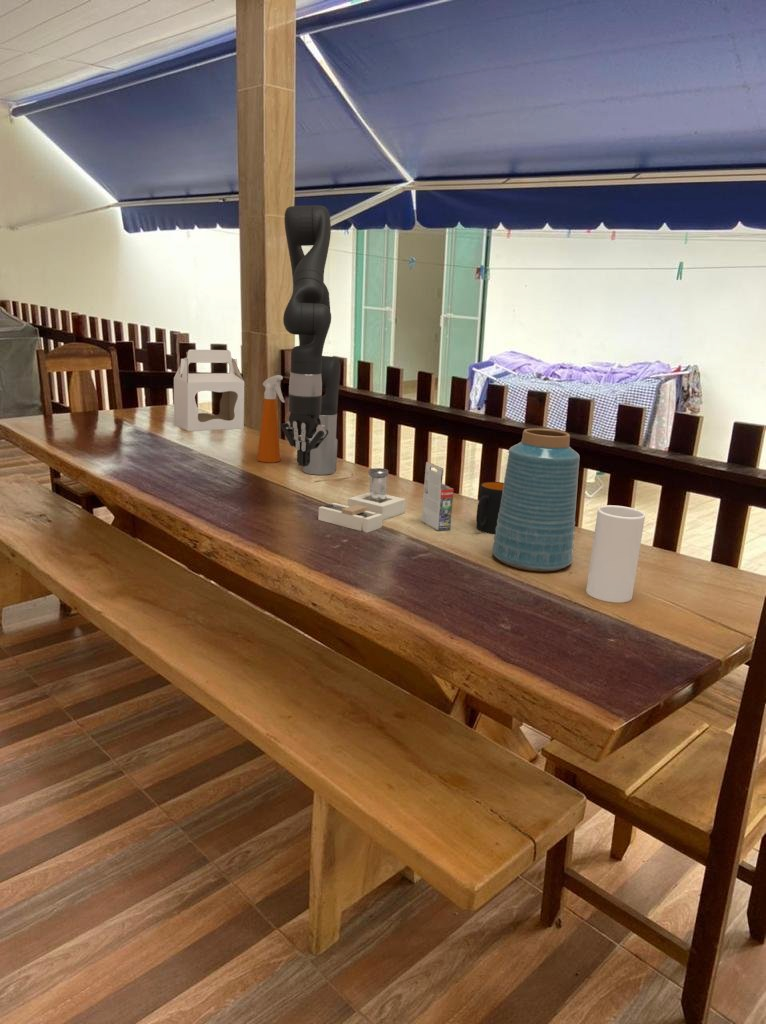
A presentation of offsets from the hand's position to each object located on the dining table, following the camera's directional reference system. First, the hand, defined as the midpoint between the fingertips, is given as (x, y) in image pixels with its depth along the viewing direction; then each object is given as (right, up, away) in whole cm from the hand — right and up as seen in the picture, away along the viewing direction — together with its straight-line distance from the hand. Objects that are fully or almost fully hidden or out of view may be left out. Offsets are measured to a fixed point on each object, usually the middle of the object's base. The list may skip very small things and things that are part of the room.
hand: (303, 465), depth 184 cm
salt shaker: (+18, -11, +3) cm, 21 cm away
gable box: (-45, +20, +103) cm, 114 cm away
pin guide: (+11, -13, -6) cm, 18 cm away
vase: (+49, -21, -24) cm, 59 cm away
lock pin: (+10, -13, -5) cm, 17 cm away
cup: (+61, -26, -40) cm, 77 cm away
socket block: (+17, -11, +4) cm, 21 cm away
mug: (+43, -16, -5) cm, 46 cm away
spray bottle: (-15, +4, +52) cm, 54 cm away
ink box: (+31, -14, -4) cm, 34 cm away
